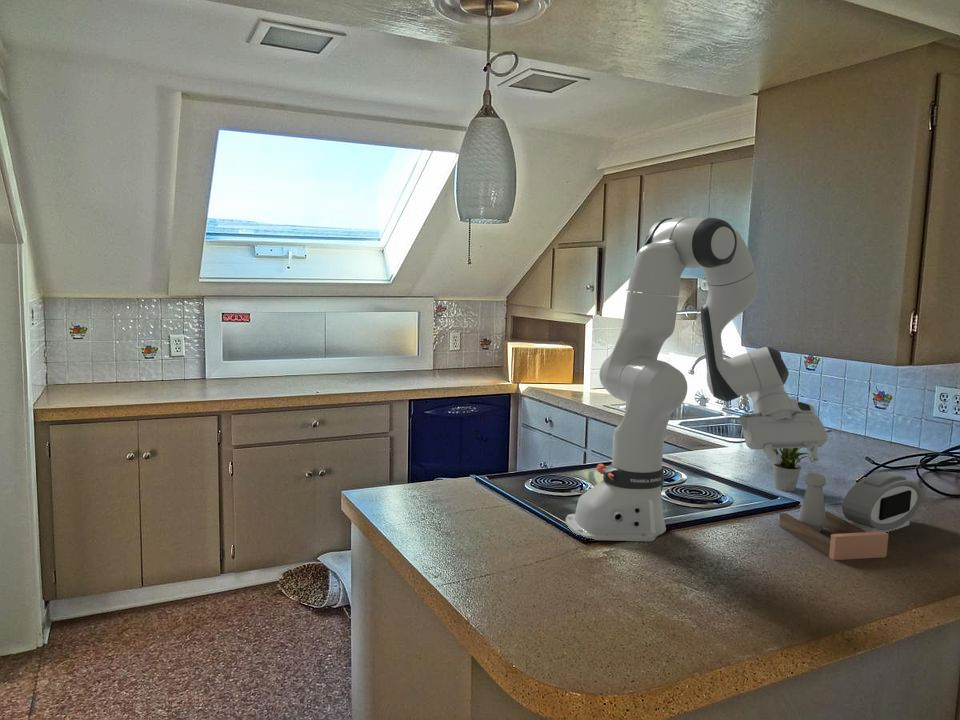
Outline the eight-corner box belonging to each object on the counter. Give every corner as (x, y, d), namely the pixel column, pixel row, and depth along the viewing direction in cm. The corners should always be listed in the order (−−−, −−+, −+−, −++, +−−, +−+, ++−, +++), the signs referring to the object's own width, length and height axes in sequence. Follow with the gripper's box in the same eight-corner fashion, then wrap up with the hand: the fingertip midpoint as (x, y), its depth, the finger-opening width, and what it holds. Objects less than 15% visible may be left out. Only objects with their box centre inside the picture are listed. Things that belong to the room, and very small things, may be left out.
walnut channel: (829, 557, 153) (830, 543, 153) (779, 526, 171) (780, 513, 170) (881, 554, 155) (882, 540, 155) (826, 523, 173) (827, 511, 172)
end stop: (833, 560, 152) (835, 536, 151) (829, 557, 153) (831, 534, 152) (886, 557, 154) (888, 534, 153) (881, 554, 155) (883, 531, 155)
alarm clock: (866, 542, 162) (871, 486, 160) (839, 533, 167) (844, 479, 165) (920, 523, 174) (925, 471, 173) (893, 515, 179) (899, 464, 178)
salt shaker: (827, 535, 165) (832, 479, 164) (800, 533, 166) (805, 477, 165) (821, 526, 171) (826, 471, 169) (794, 524, 172) (799, 469, 170)
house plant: (741, 485, 201) (746, 426, 198) (767, 476, 210) (771, 420, 207) (793, 499, 190) (798, 437, 188) (817, 489, 199) (822, 429, 197)
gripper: (742, 406, 178) (762, 457, 170) (818, 405, 182) (841, 454, 174) (731, 420, 183) (750, 470, 175) (806, 418, 187) (827, 467, 179)
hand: (796, 462), depth 174 cm, fingers open, 8 cm apart
